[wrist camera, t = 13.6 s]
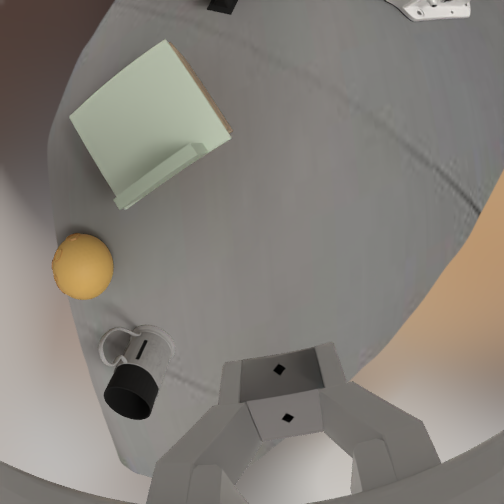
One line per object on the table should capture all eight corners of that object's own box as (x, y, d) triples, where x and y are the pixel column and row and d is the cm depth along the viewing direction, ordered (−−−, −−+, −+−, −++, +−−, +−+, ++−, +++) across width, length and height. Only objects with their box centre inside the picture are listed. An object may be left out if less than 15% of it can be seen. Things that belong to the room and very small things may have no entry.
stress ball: (130, 246, 45) (88, 214, 37) (121, 306, 40) (72, 280, 32) (88, 257, 48) (49, 229, 39) (79, 310, 43) (33, 288, 34)
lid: (167, 41, 26) (146, 19, 20) (231, 138, 31) (225, 137, 24) (73, 117, 29) (37, 116, 22) (128, 208, 33) (100, 225, 27)
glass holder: (142, 364, 53) (118, 422, 39) (109, 303, 48) (70, 355, 34) (182, 359, 52) (165, 421, 38) (151, 293, 47) (117, 350, 33)
